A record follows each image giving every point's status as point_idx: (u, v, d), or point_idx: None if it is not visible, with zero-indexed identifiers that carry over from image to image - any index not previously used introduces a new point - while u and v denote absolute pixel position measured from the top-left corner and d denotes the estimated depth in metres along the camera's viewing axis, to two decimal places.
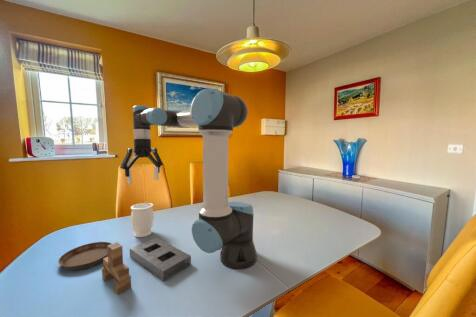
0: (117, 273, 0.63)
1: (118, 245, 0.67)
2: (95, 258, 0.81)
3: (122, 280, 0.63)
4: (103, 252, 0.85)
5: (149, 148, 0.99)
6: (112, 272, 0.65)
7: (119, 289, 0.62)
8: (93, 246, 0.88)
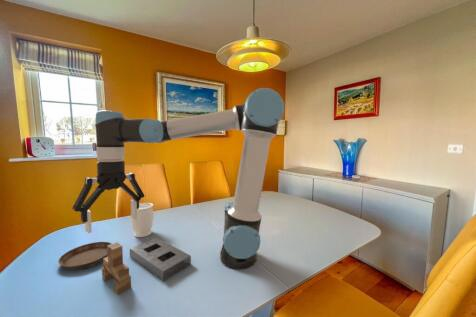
0: (117, 273, 0.63)
1: (118, 245, 0.67)
2: (95, 258, 0.81)
3: (122, 280, 0.63)
4: (103, 252, 0.85)
5: (122, 175, 0.66)
6: (112, 272, 0.65)
7: (119, 289, 0.62)
8: (93, 246, 0.88)
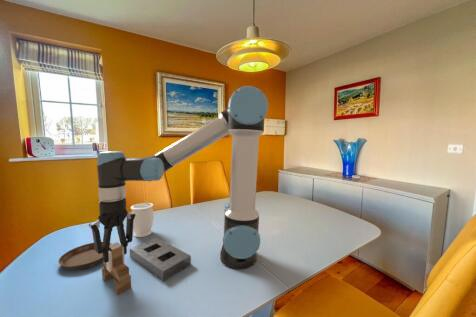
0: (117, 273, 0.63)
1: (118, 245, 0.67)
2: (95, 258, 0.81)
3: (122, 279, 0.63)
4: None
5: (125, 211, 0.68)
6: (112, 272, 0.65)
7: (119, 289, 0.62)
8: (93, 246, 0.88)
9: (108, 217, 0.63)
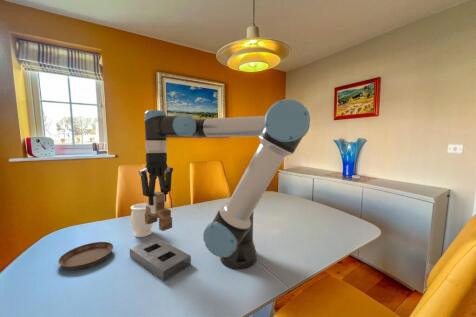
0: (162, 213, 0.74)
1: (160, 192, 0.78)
2: (95, 258, 0.81)
3: (165, 219, 0.74)
4: (103, 252, 0.85)
5: (165, 164, 0.79)
6: (156, 214, 0.76)
7: (164, 226, 0.74)
8: (93, 246, 0.88)
9: (153, 166, 0.75)
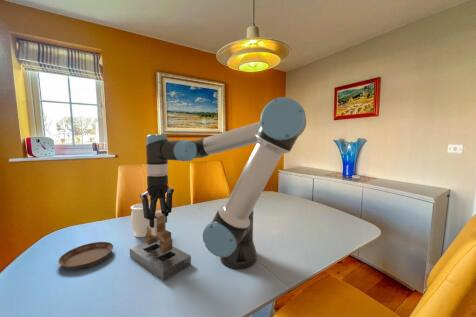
0: (162, 236, 0.75)
1: (161, 214, 0.79)
2: (95, 258, 0.81)
3: (166, 241, 0.75)
4: (103, 252, 0.85)
5: (166, 186, 0.80)
6: (156, 236, 0.78)
7: (164, 249, 0.75)
8: (93, 246, 0.88)
9: (154, 189, 0.76)
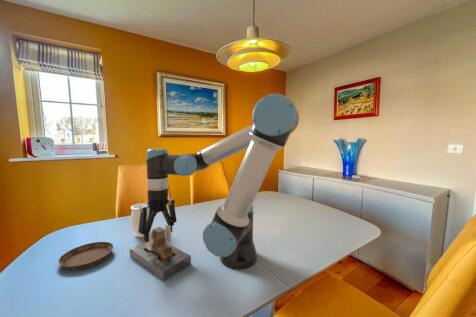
0: (163, 251, 0.76)
1: (161, 229, 0.79)
2: (95, 258, 0.81)
3: (166, 257, 0.76)
4: (103, 252, 0.85)
5: (166, 199, 0.80)
6: (157, 251, 0.78)
7: None
8: (93, 246, 0.88)
9: (155, 203, 0.76)
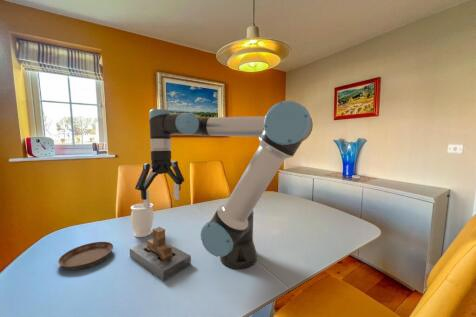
0: (163, 251, 0.76)
1: (161, 229, 0.79)
2: (95, 258, 0.81)
3: (166, 257, 0.76)
4: (103, 252, 0.85)
5: (169, 162, 0.80)
6: (157, 251, 0.78)
7: None
8: (93, 246, 0.88)
9: (160, 163, 0.77)
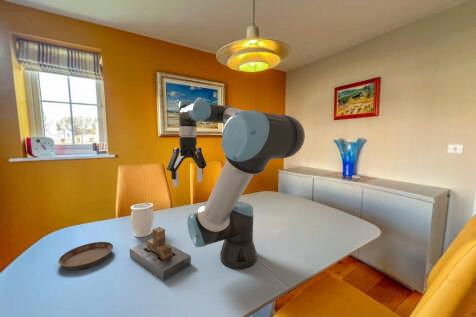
0: (163, 251, 0.76)
1: (161, 229, 0.79)
2: (95, 258, 0.81)
3: (166, 257, 0.76)
4: (103, 252, 0.85)
5: (194, 147, 0.90)
6: (157, 251, 0.78)
7: None
8: (92, 246, 0.88)
9: (187, 148, 0.87)
